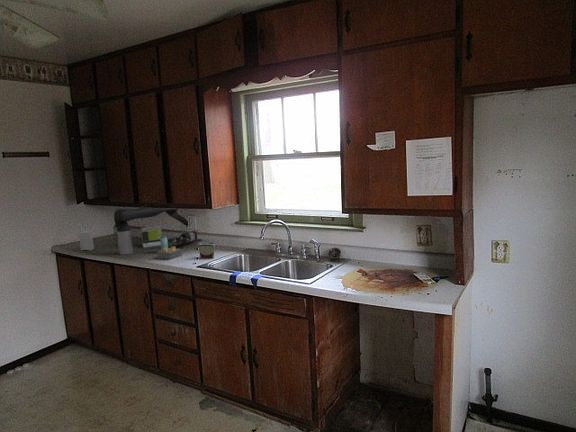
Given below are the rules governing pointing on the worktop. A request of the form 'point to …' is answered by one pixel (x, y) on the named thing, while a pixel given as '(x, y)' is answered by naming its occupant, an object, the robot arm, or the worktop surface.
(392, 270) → the worktop surface
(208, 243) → the food container
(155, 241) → the tea box
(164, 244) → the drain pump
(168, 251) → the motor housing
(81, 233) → the skincare box
